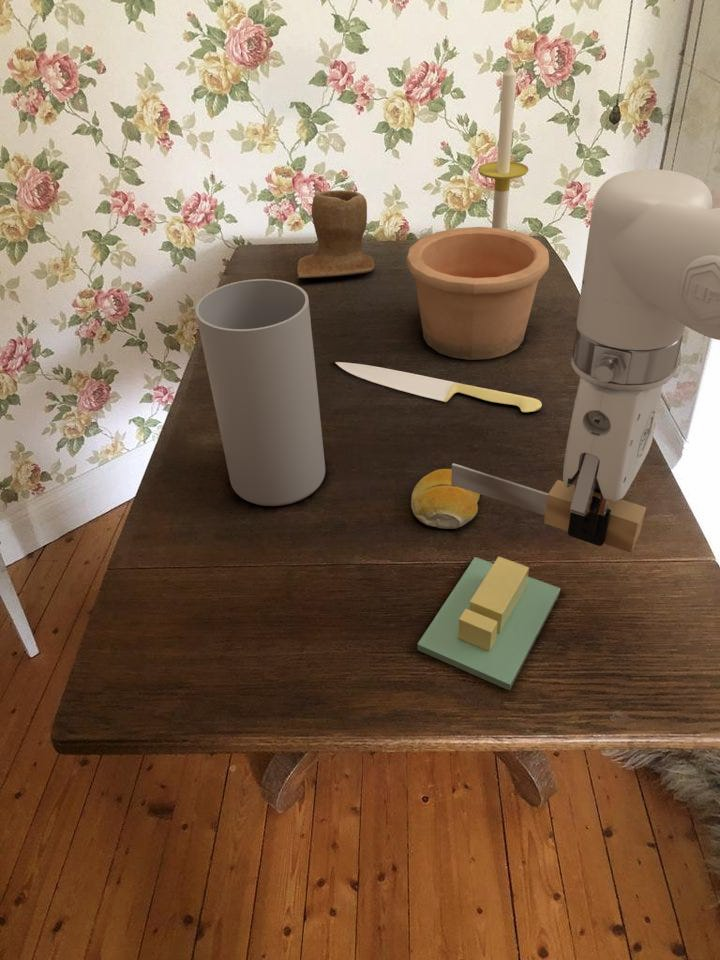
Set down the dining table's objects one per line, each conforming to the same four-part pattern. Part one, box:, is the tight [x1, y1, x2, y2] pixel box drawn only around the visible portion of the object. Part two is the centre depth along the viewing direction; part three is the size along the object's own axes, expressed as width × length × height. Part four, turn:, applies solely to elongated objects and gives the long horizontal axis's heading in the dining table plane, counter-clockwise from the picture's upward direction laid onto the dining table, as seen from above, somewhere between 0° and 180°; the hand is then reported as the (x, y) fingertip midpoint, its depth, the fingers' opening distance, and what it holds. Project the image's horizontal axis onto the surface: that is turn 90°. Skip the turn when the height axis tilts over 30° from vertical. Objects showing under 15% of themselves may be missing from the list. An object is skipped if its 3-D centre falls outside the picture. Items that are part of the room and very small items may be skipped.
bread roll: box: [410, 468, 481, 530], centre depth 92 cm, size 8×9×4 cm
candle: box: [477, 55, 530, 230], centre depth 130 cm, size 10×10×38 cm
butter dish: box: [416, 555, 561, 691], centre depth 78 cm, size 10×14×4 cm
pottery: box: [406, 226, 550, 361], centre depth 121 cm, size 22×22×14 cm
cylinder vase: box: [194, 278, 326, 507], centre depth 91 cm, size 12×12×25 cm
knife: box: [334, 361, 543, 413], centre depth 114 cm, size 1×34×5 cm
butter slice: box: [458, 609, 498, 651], centre depth 75 cm, size 4×2×3 cm, turn 59°
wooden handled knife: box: [451, 462, 647, 554], centre depth 69 cm, size 18×2×4 cm, turn 58°
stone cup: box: [296, 189, 375, 279], centre depth 144 cm, size 15×12×15 cm
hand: (591, 527), depth 68 cm, fingers closed on wooden handled knife, 2 cm apart
